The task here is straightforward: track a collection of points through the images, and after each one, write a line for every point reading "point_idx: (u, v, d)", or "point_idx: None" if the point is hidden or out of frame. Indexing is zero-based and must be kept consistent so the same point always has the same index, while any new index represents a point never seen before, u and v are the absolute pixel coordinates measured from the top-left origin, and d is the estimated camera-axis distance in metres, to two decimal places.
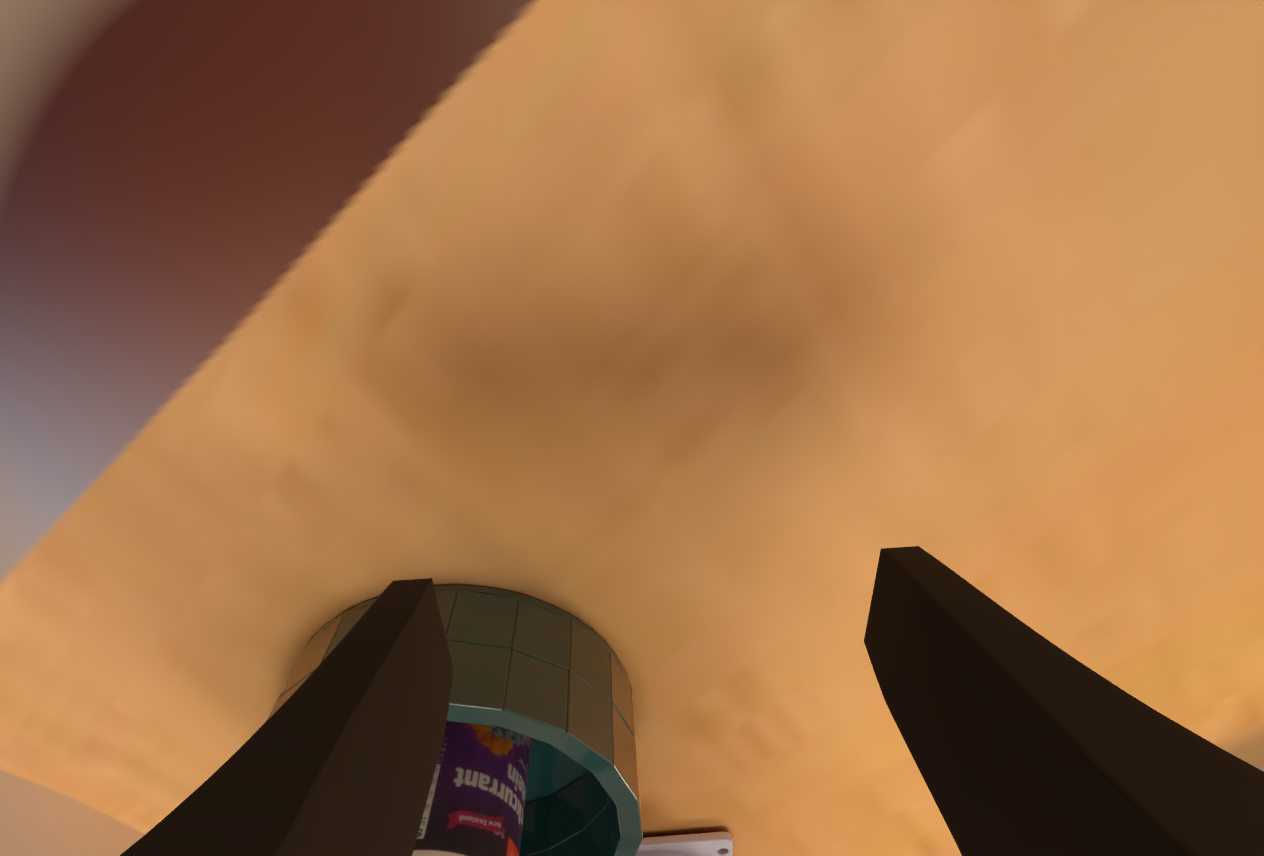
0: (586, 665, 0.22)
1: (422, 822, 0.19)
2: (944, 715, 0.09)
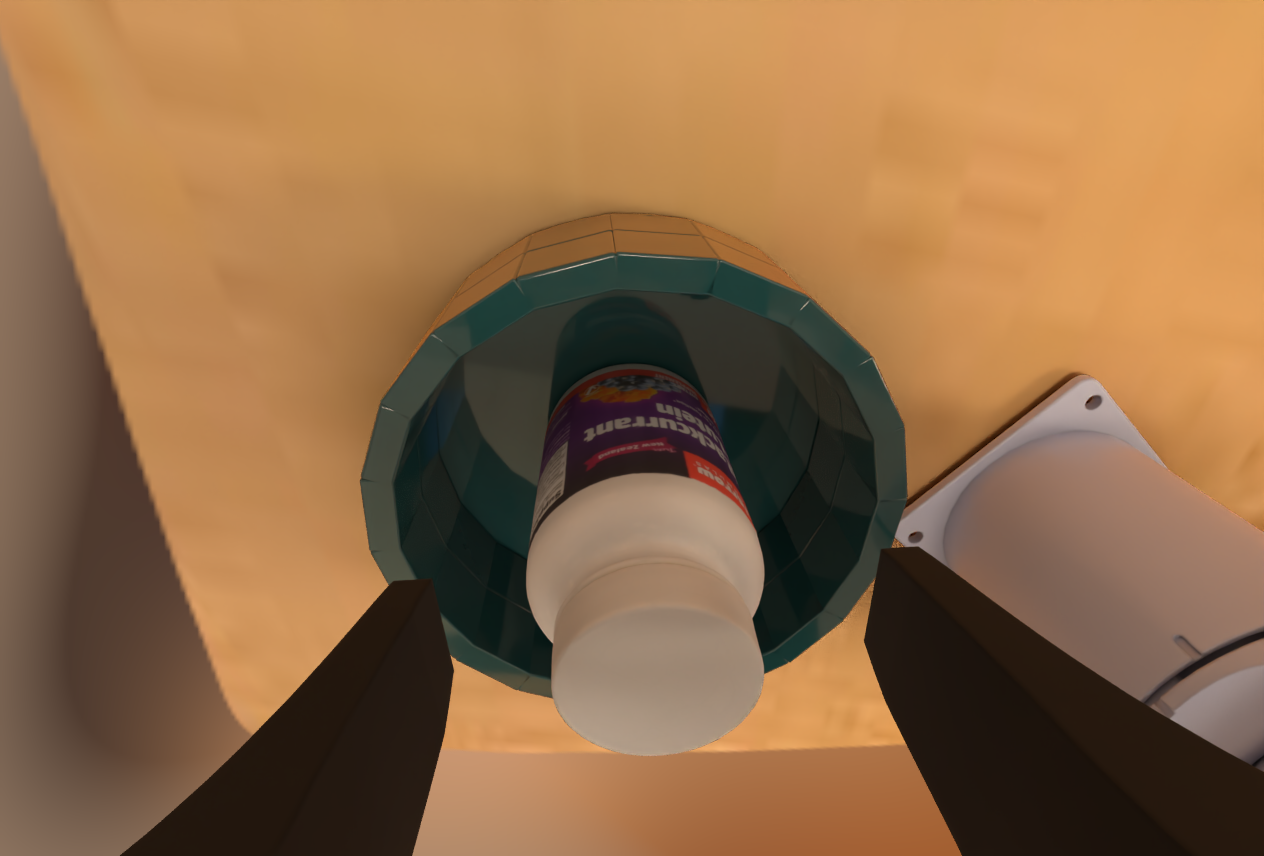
0: (645, 226, 0.16)
1: (560, 485, 0.14)
2: (944, 715, 0.09)
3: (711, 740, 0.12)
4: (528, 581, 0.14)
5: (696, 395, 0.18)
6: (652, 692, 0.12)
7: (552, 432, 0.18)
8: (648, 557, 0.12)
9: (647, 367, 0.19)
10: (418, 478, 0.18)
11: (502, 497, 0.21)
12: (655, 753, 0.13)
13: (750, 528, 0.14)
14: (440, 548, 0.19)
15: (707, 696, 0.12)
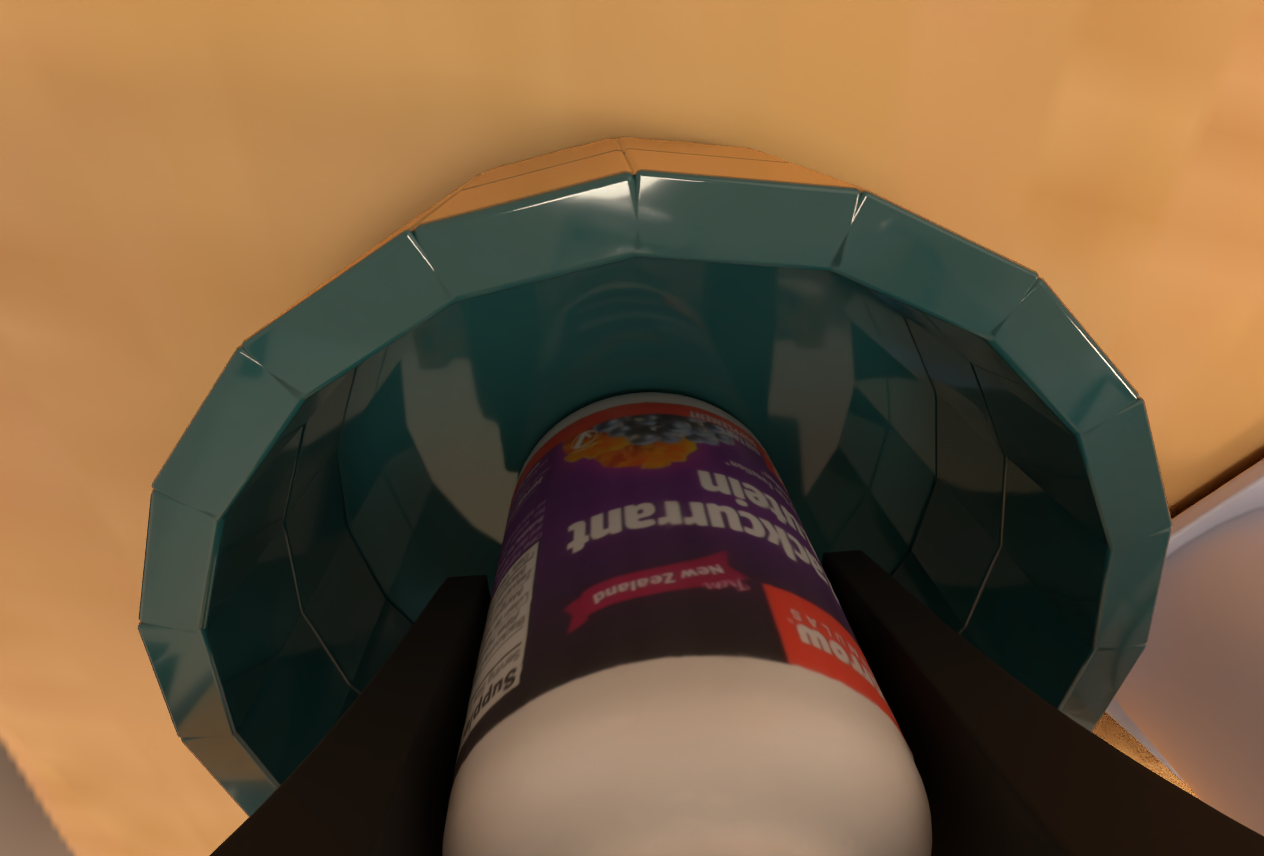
0: (682, 149, 0.09)
1: (516, 654, 0.07)
2: None
3: None
4: None
5: (756, 446, 0.11)
6: None
7: (517, 511, 0.10)
8: None
9: (676, 400, 0.11)
10: (289, 588, 0.10)
11: None
12: None
13: (912, 763, 0.07)
14: (335, 694, 0.11)
15: None
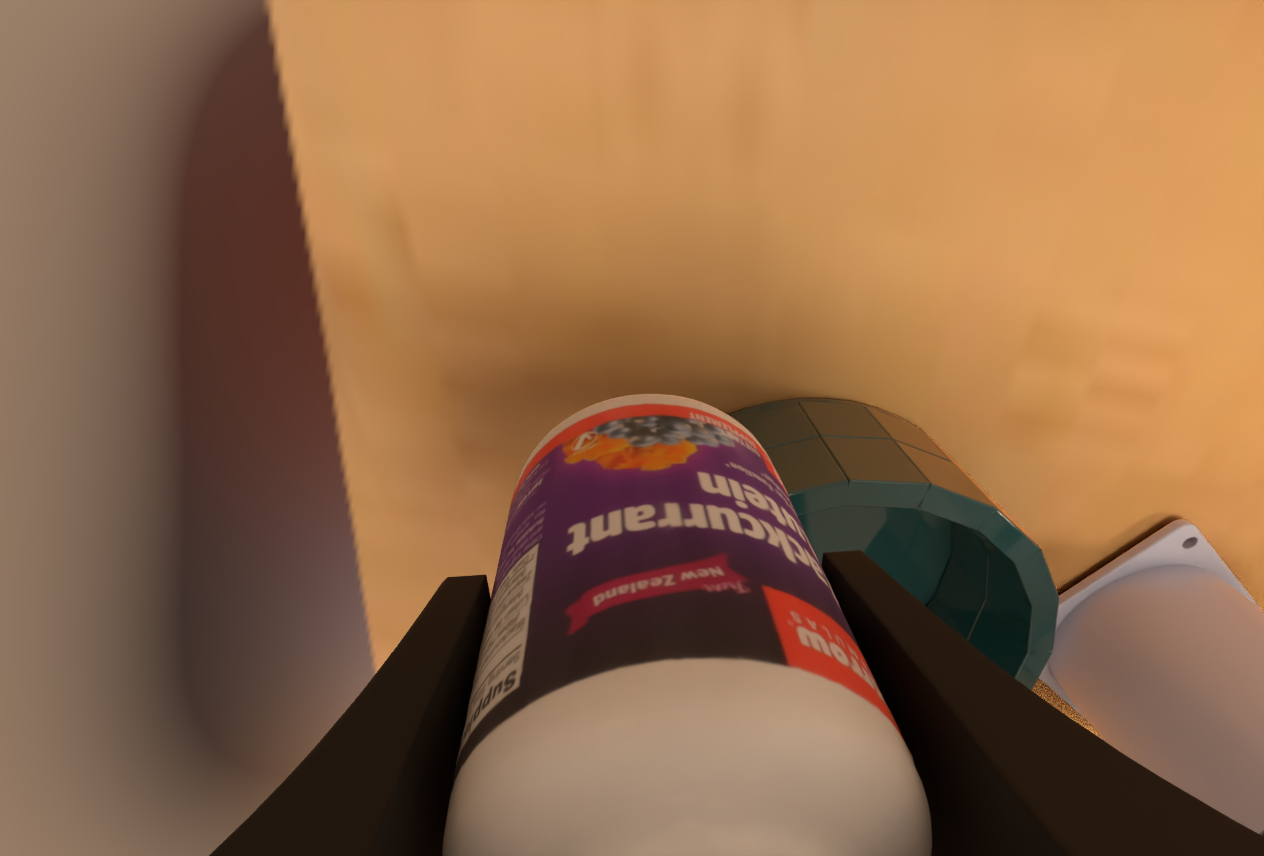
0: (839, 425, 0.19)
1: (516, 656, 0.07)
2: None
3: None
4: None
5: (756, 447, 0.11)
6: None
7: (517, 512, 0.10)
8: None
9: (676, 402, 0.11)
10: None
11: None
12: None
13: (912, 766, 0.07)
14: None
15: None
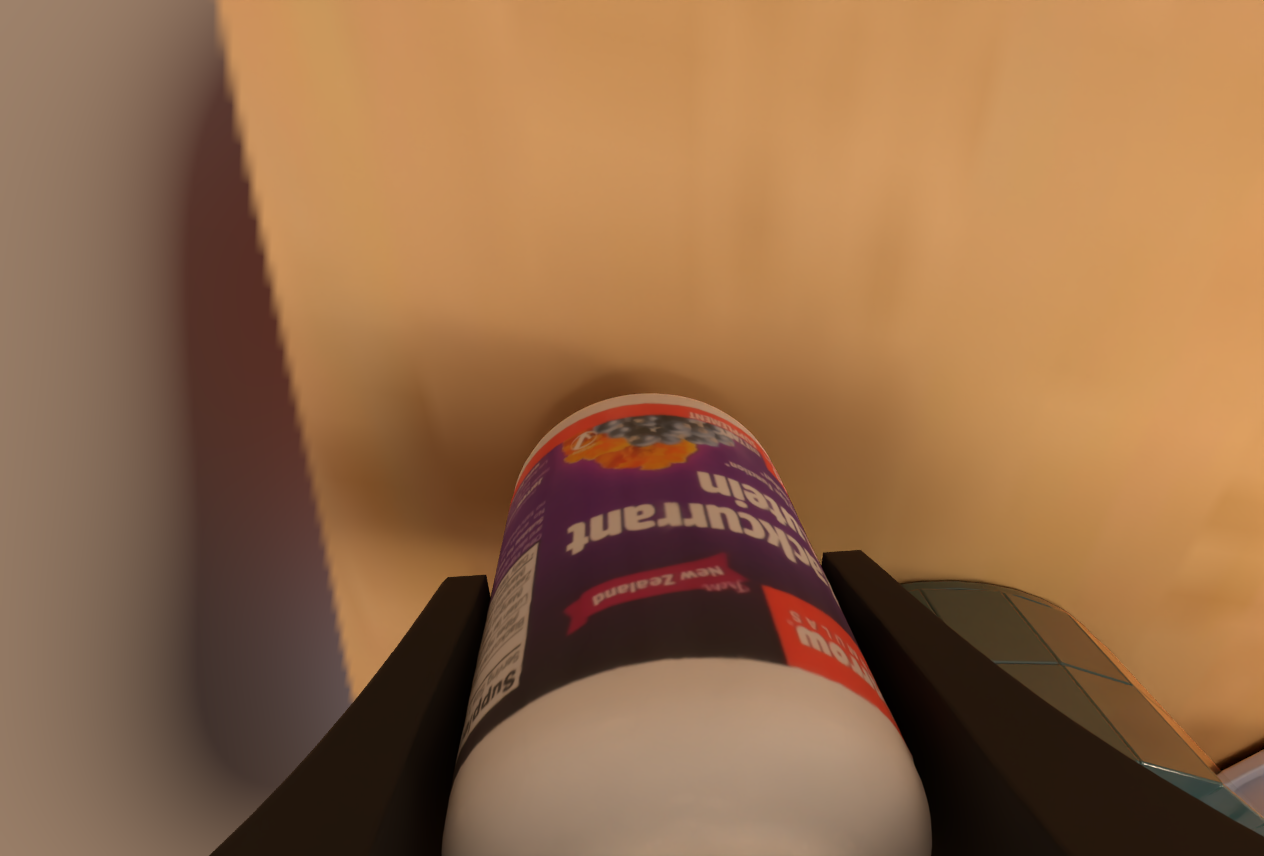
0: (986, 637, 0.15)
1: (515, 656, 0.07)
2: None
3: None
4: None
5: (756, 447, 0.11)
6: None
7: (516, 512, 0.10)
8: None
9: (675, 401, 0.11)
10: None
11: None
12: None
13: (912, 765, 0.06)
14: None
15: None
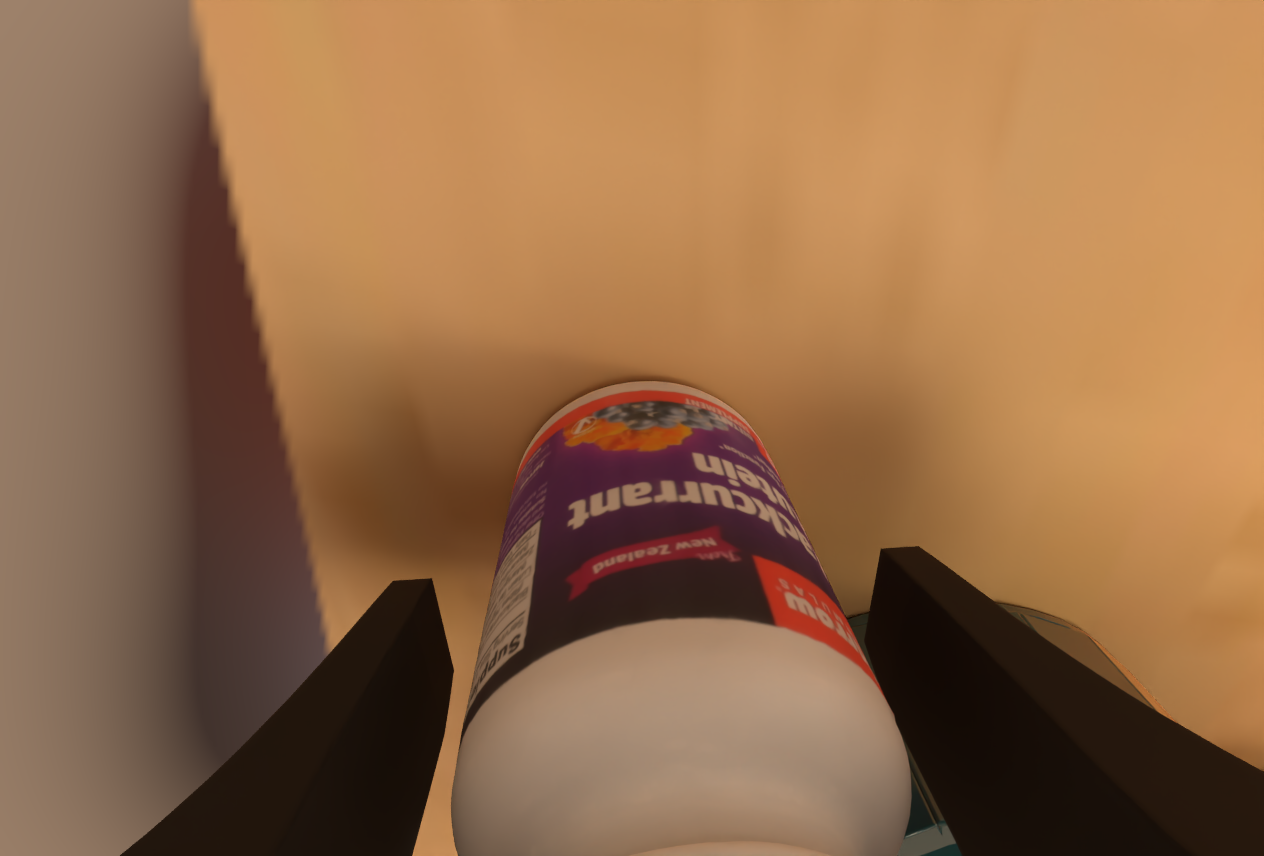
0: None
1: (520, 622, 0.08)
2: (944, 715, 0.09)
3: None
4: (453, 821, 0.07)
5: (749, 432, 0.12)
6: None
7: (519, 494, 0.11)
8: (705, 847, 0.05)
9: (672, 388, 0.12)
10: None
11: None
12: None
13: (892, 721, 0.07)
14: None
15: None
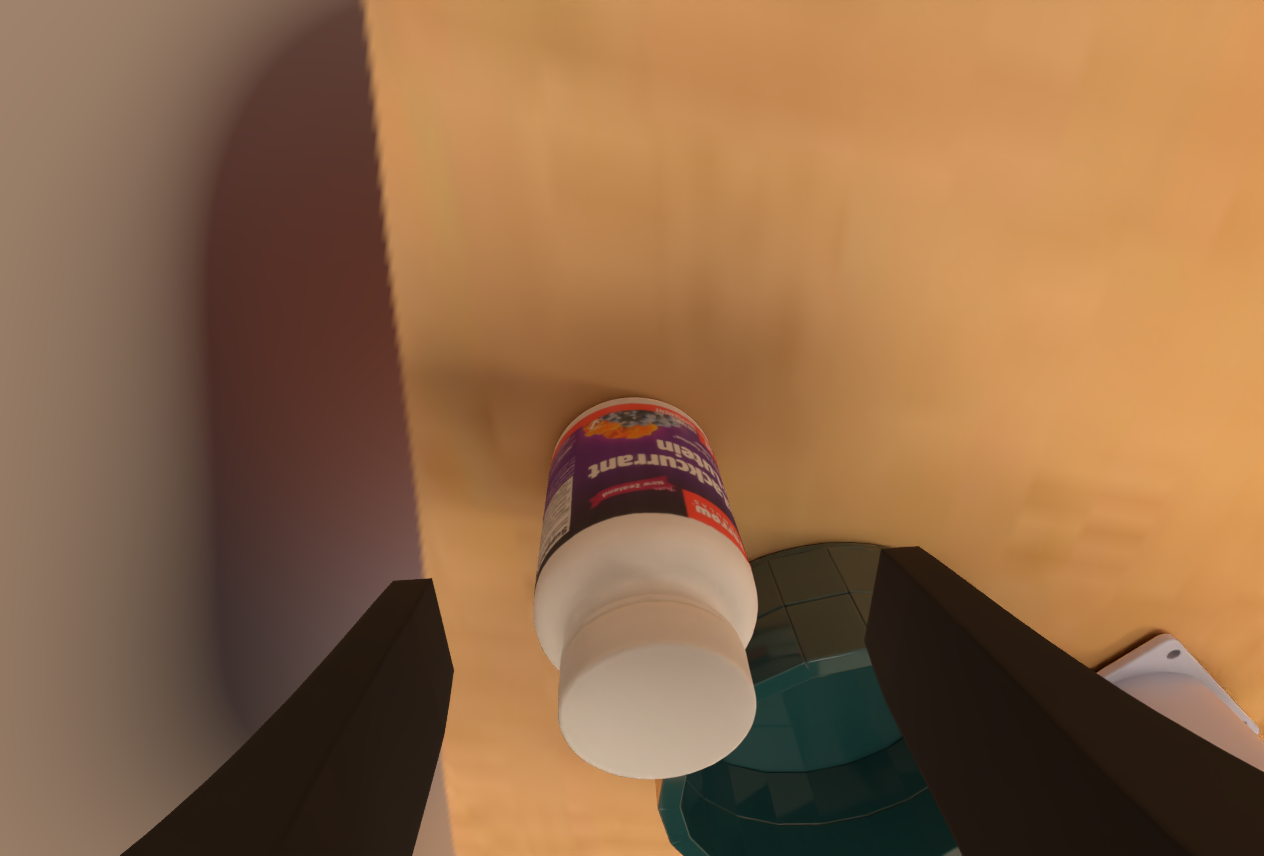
0: (865, 577, 0.22)
1: (566, 521, 0.15)
2: (944, 715, 0.09)
3: (706, 765, 0.13)
4: (536, 612, 0.15)
5: (695, 428, 0.19)
6: (652, 721, 0.13)
7: (557, 464, 0.18)
8: (649, 595, 0.13)
9: (648, 402, 0.19)
10: None
11: None
12: (654, 776, 0.13)
13: (744, 564, 0.15)
14: None
15: (703, 725, 0.13)
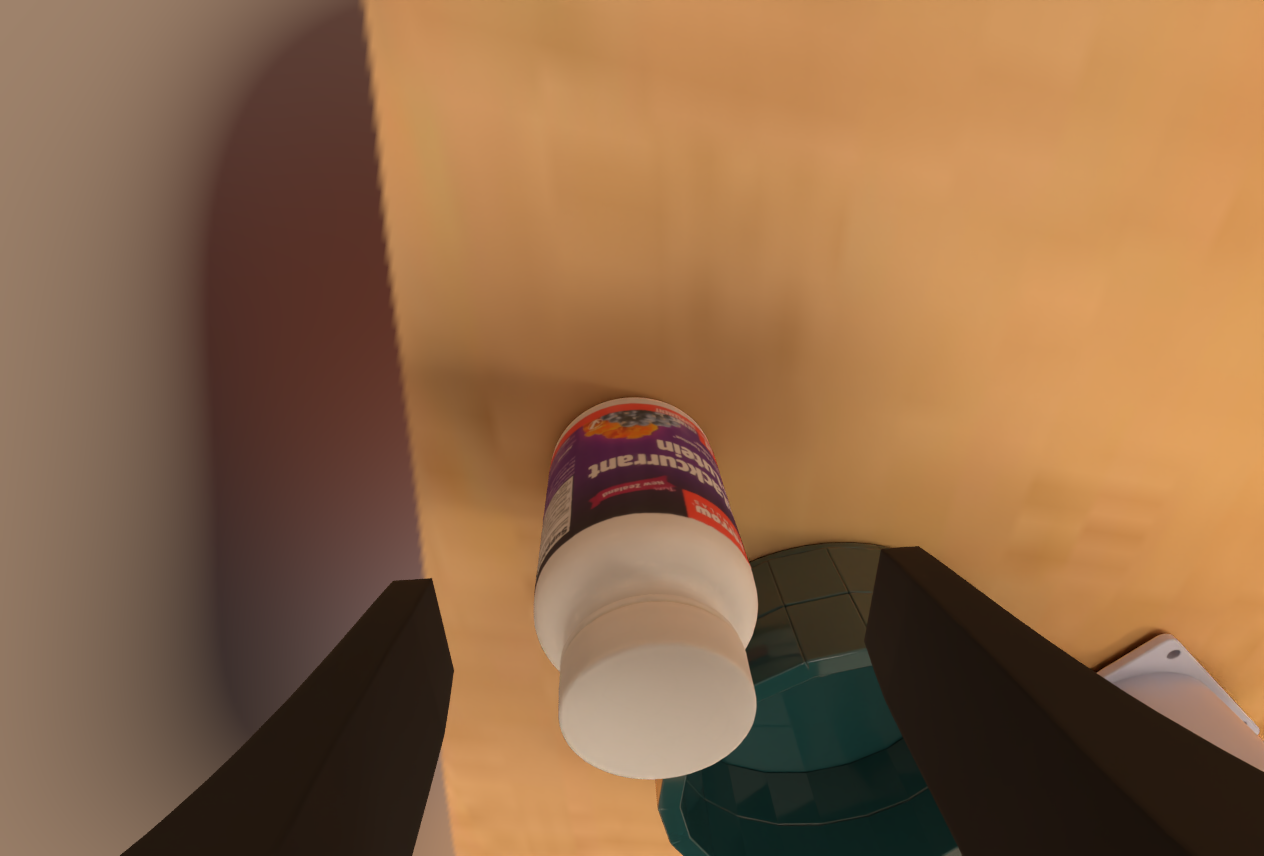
0: (865, 577, 0.22)
1: (566, 521, 0.15)
2: (944, 715, 0.09)
3: (707, 765, 0.13)
4: (536, 612, 0.15)
5: (695, 428, 0.19)
6: (653, 721, 0.13)
7: (557, 464, 0.18)
8: (649, 595, 0.13)
9: (648, 402, 0.19)
10: None
11: None
12: (654, 776, 0.13)
13: (745, 564, 0.15)
14: None
15: (703, 725, 0.13)
